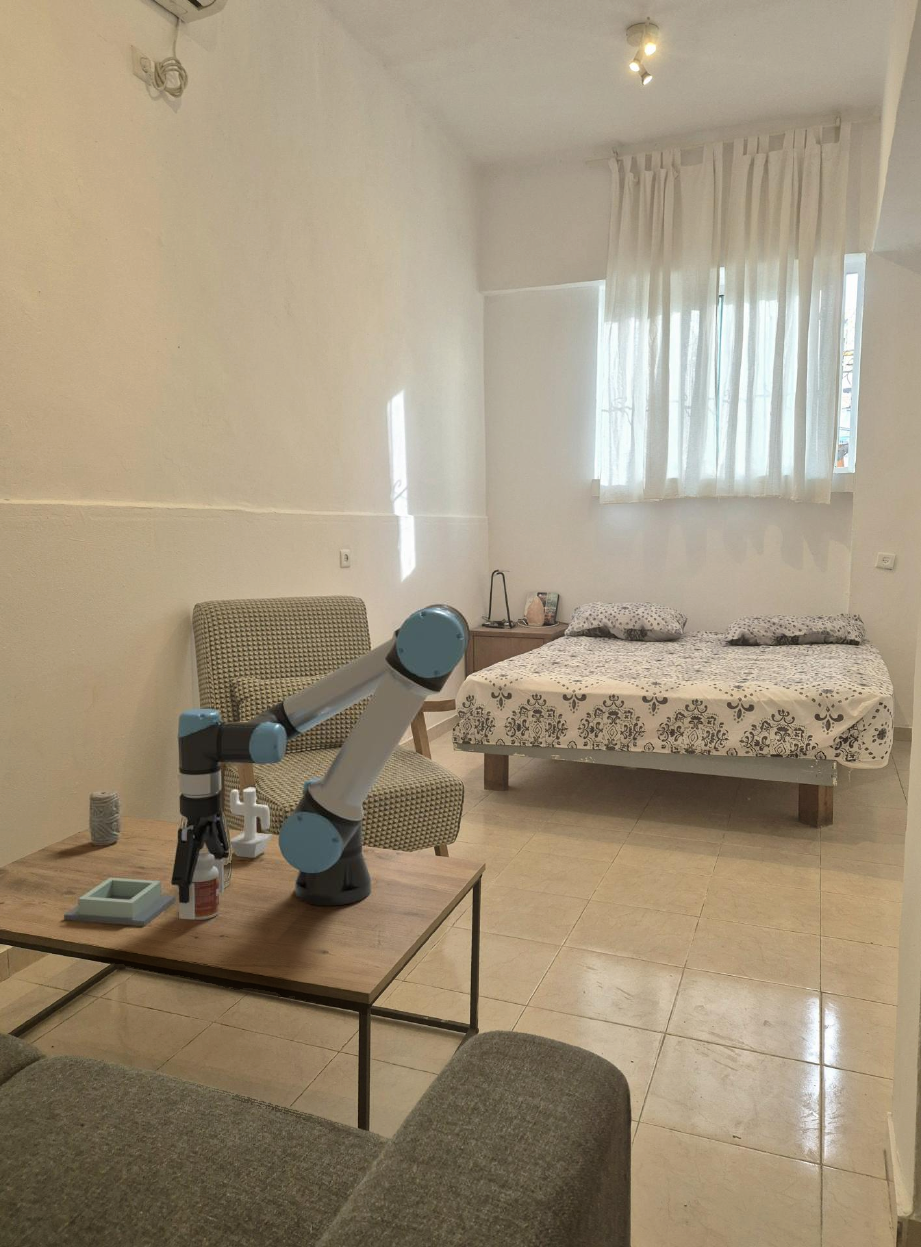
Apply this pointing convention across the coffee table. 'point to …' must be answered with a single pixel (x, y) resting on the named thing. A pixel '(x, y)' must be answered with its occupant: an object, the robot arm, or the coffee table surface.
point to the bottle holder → (121, 902)
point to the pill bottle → (206, 887)
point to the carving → (104, 817)
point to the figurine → (250, 824)
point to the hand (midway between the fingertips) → (202, 904)
